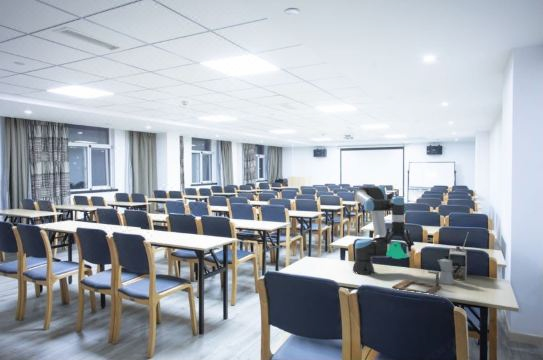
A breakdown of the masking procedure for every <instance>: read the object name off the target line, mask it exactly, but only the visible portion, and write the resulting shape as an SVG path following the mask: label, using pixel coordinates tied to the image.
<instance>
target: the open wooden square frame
mask: <svg viewBox="0 0 543 360" xmlns="http://www.w3.org/2000/svg"><path fill="white" fill-rule="evenodd" d="M439 272H440V271H431V270H430V271H429V270H428V271H427V273H428V274H433V275H435V284H433V283H427V282H423V281H417V280H413V279H408V278H405V279H404V280H401V281H400V282H398V283H396V284H394V285H392V286H391V289H393V288H395V289H394V290H397V289H400V290H399V291H402V290H407V291H414V292H421V293H429V294H431V295H433V294H435V292H437V291H439V290H440V289H441V285H440V284H439V283H440V282H439V279H440V274H439ZM411 284H413V285H417V286H423V287H428V288H429V289H427V290H426V291H423V290H417V289H413V288H409V287H408V286H410V285H411ZM407 291H406V292H407Z"/></svg>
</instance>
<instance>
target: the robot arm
mask: <svg viewBox="0 0 543 360" xmlns="http://www.w3.org/2000/svg"><path fill="white" fill-rule="evenodd" d="M353 199H354V200H355V202H357V203H360V204H362V205H363V209H364V210H365V211H366V212H371V218H372V226H373V227H372V228H373V233H374V237H373V238H372V239H370V238H361V239H358V240H356V241H355V243H354V245H355V246H354V249H355V250H354V252H355V253H354V255H355V257H354V259H355V260H354V263H353V266H352V272H353V271H354V272H357V273H362V274H361V275H372V274H371V273H373V274H375V267H374V265H373V258H390V257H391V256H387V255H386V253H387V251H388V250H389V248H390V247H391V245H392V244H393V243H394V242H393V241H392V240H393V238H394V237H401V238H402V239H403V241H404V243H405V244H406V253H407V258H410V256H411V252H412V246H415V243H414V240H413V238H412V235H411V232H410V229H405V198H404V197H403V196H393V197H391V198H390V199H387V194H386V191H385V189H384V188H383V187H382V186H360V187H358V188H357V189H355V191H353ZM384 212H391V227H390V228H386V227H387V226H386V220H385V215H384V214H385V213H384ZM391 232H392V234H391ZM390 234H391V235H390ZM354 272H353V273H354ZM357 273H356V274H357Z"/></svg>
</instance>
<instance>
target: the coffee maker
mask: <svg viewBox="0 0 543 360" xmlns="http://www.w3.org/2000/svg"><path fill="white" fill-rule="evenodd" d="M436 261H437V262H438V265H439V266H440V267H439V268H440V274H439V283H440V284H443V285H454V283H455V282H454V279H453V275H452V273H451V272H452V270H453V266H457V265H458V268H457V269H456V270H455V272H454V273H455V274H456V272H457V271H458V269H459V268H460V267H461V266H460V264H459V263H458V262H456V261H453V260H450V259H449V254H445V255H444V258H441V259H437V260H436Z"/></svg>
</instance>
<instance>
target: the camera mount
mask: <svg viewBox="0 0 543 360" xmlns="http://www.w3.org/2000/svg"><path fill="white" fill-rule="evenodd" d="M386 255H387V256H390V257H391V259H395V260H396V259H397V260H400V259H406V258H408V257H407V252H406V253H405V251H404V249H403V248H402V244H401V242H400V241H394V242H393V244H392V245H391V247H390V248H389V250H388V251H387V253H386Z"/></svg>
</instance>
